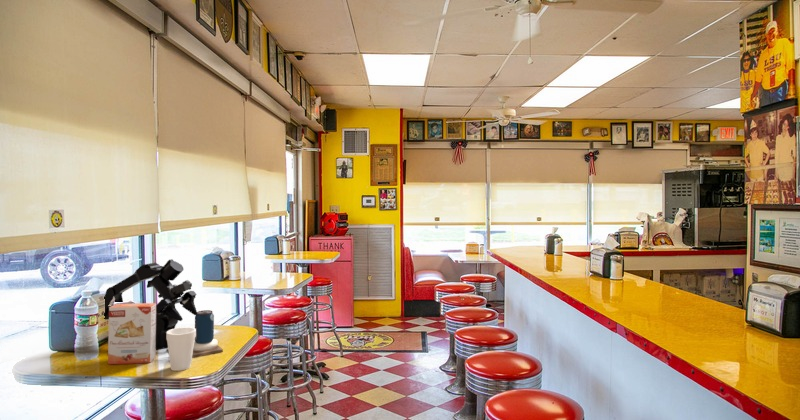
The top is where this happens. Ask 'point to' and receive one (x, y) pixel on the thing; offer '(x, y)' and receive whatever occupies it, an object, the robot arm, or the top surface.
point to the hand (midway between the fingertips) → (189, 317)
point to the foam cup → (180, 347)
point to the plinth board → (196, 354)
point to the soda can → (204, 327)
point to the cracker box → (132, 333)
